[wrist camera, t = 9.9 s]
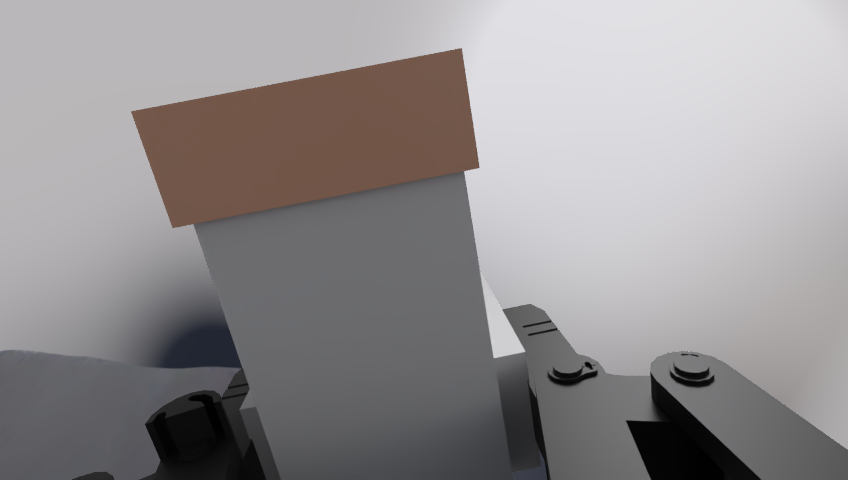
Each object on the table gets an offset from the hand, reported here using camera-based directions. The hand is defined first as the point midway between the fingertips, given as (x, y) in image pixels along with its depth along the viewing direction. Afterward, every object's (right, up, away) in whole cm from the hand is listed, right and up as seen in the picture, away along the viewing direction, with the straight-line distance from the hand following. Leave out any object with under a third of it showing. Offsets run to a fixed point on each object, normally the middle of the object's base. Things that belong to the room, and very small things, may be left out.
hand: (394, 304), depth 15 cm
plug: (+2, -10, -2) cm, 11 cm away
